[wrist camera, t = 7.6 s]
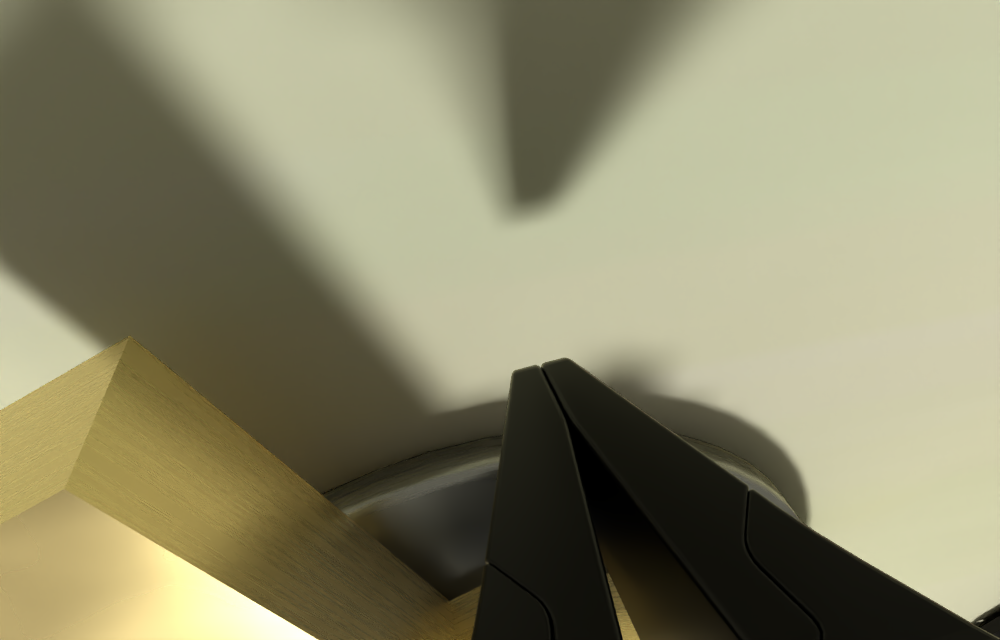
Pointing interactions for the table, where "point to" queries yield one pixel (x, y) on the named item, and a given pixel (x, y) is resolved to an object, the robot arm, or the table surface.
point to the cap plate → (462, 507)
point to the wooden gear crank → (185, 526)
